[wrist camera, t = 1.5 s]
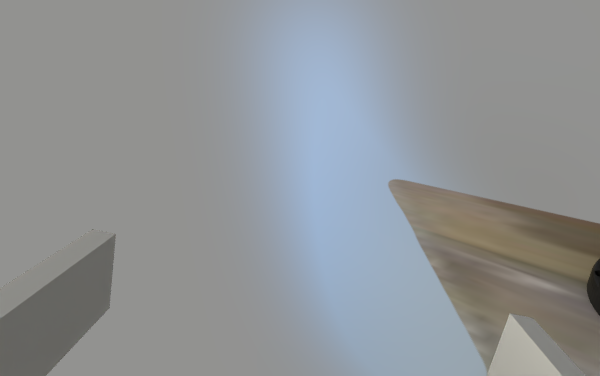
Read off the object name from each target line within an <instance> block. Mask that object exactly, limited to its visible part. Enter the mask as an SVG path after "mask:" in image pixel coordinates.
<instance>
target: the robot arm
mask: <svg viewBox="0 0 600 376" xmlns="http://www.w3.org/2000/svg"><path fill="white" fill-rule="evenodd" d="M115 236H116V234H113V233H108V232H103V231H98V230H94V229H92V230H91V231H89V232H88V233H86V234H84V235H83V236H81V237H80V238H78V239H77V240H75V241H73V242H72V243H70V244H69V245H67V246H66V247H64V248H63V249H61V250H59V251H58V252H57V253H55V254H53V255H52V256H50V257H48V258H47V259H45V260H44V261H42V262H41V263H39V264H37V265H36V266H34V267H33V268H31V269H30V270H28V271H26V272H25V273H23V274H22V275H20V276H19V277H17V278H15V279H14V280H12V281H11V282H9V283H8V284H6V285H4V286H3V287H2V288H0V376H46V375H47V374H48V373H49V372H50V371H51V370H52V369H53V367H54V366H55V365H56V364H57V363H58V362H59V361H60V360H61V359H62V358H63V357H64V356H65V355H66V354H67V352H68V351H69V350H70V349H71V348H72V347H73V346H74V345H75V344H76V343H77V342H78V341H79V340H80V339H81V338H82V337H83V335H84V334H85V333H86V332H87V331H88V330H89V329H90V328H91V327H92V326H93V325H94V324H95V323H96V322H97V321H98V320H99V318H100V317H101V316H102V315H103V314H104V313H105V312H106V311H107V310H108V309H109V306H110V294H111V283H112V270H113V260H114V248H115ZM587 293H588V297H589V299H590V302H591V304H592V305H593V307H594V309H595V310H596V311H597V313H598V314H599V315H600V259H599V260H598V261H597V262H596V263H595V265H594V266H593V268H592V271H591V274H590V277H589V280H588V283H587ZM487 376H586V375H585V374H584V373H583V372H582V371H581V370H580V369H579V368H578V367H577V366H576V364H575V363H574V362H573V361H572V360H571V359H570V358H569V357H568V356H567V355H566V354H565V352H564V351H563V350H562V349H561V348H560V347H559V346H558V345H557V344H556V343H555V342H554V340H553V339H552V338H551V337H550V336H549V335H548V334H547V333H546V332H545V331H544V330H543V329H542V327H541V326H540V325H539V324H538V323H537V322H536V321H535V320H534V319H533V318H530V317H525V316H520V315H515V314H511V313H510V315H509V317H508V320H507V323H506V325H505V328H504V331H503V333H502V336H501V339H500V341H499V344H498V347H497V349H496V352H495V355H494V358H493V360H492V363H491V366H490V368H489V371H488V374H487Z"/></svg>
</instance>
